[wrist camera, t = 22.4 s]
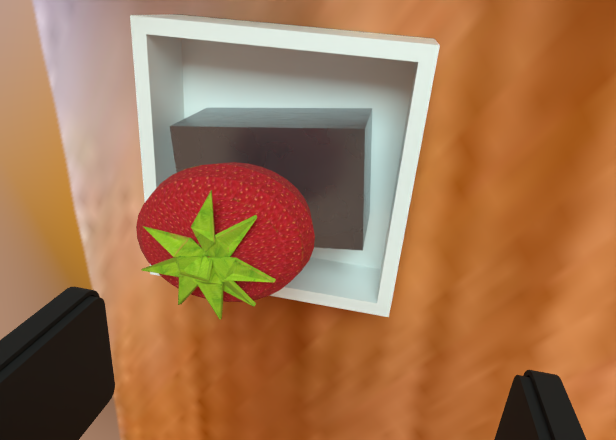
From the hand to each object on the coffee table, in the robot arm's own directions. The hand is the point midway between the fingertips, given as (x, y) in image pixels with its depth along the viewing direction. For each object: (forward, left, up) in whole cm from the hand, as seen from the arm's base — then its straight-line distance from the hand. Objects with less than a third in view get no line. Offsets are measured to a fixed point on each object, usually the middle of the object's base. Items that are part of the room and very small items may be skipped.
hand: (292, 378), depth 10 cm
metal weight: (-1, +5, -19) cm, 20 cm away
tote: (-1, +5, -20) cm, 21 cm away
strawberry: (-1, +5, -14) cm, 15 cm away
